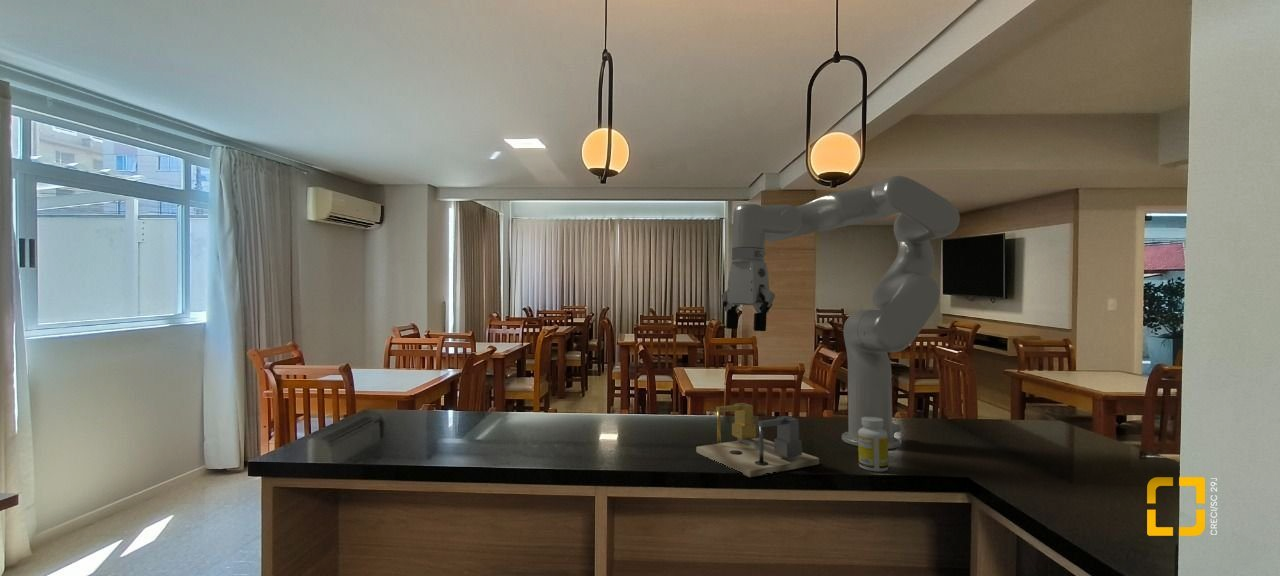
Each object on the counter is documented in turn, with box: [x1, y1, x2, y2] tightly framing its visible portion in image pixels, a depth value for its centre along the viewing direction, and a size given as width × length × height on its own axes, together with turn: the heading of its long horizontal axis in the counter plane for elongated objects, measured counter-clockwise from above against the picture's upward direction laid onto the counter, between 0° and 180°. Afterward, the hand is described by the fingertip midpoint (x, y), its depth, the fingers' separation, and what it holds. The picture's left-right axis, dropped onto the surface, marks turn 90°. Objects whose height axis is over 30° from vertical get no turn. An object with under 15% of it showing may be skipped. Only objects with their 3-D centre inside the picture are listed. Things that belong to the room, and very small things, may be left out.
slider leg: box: [715, 402, 757, 444], centre depth 111 cm, size 9×4×8 cm, turn 117°
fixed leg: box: [757, 415, 803, 463], centre depth 98 cm, size 9×4×8 cm, turn 117°
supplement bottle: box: [857, 417, 889, 473], centre depth 98 cm, size 5×5×10 cm
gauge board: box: [695, 437, 820, 478], centre depth 104 cm, size 18×18×2 cm
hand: (745, 329), depth 114 cm, fingers open, 9 cm apart
